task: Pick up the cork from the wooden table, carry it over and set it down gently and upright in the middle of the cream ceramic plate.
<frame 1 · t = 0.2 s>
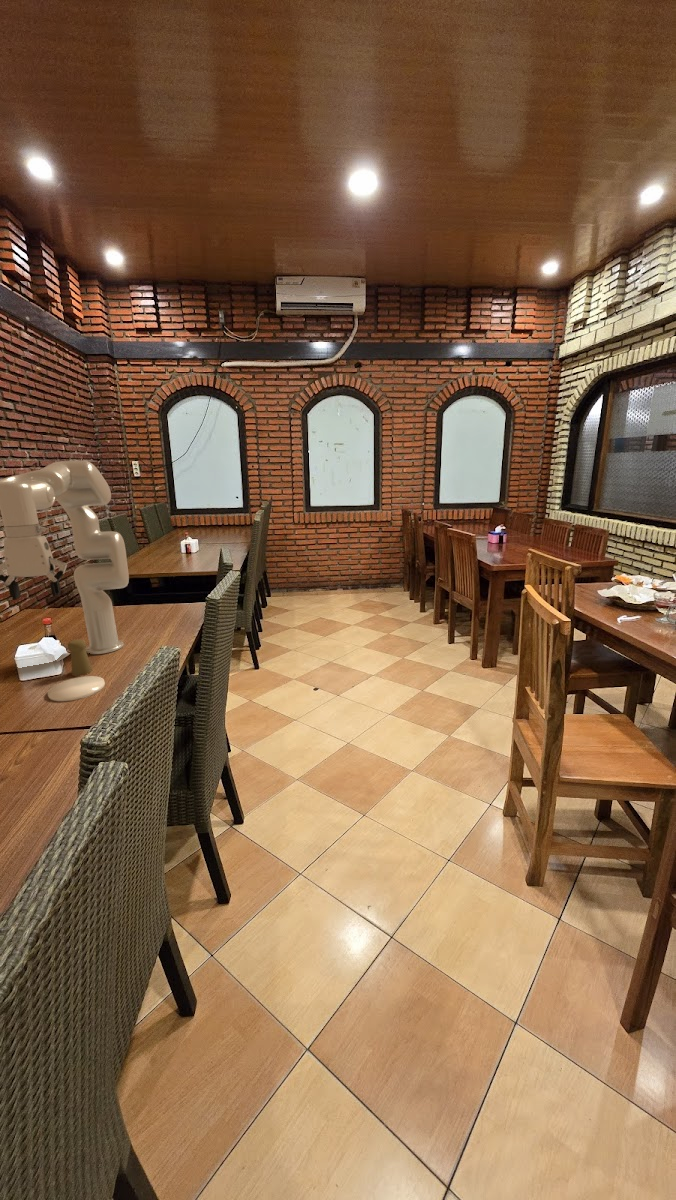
hand: (36, 597, 126), 31 cm above the table, tool pointing down, fingers open, 9 cm apart
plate: (77, 689, 143), on the table
cork: (82, 672, 156), on the table
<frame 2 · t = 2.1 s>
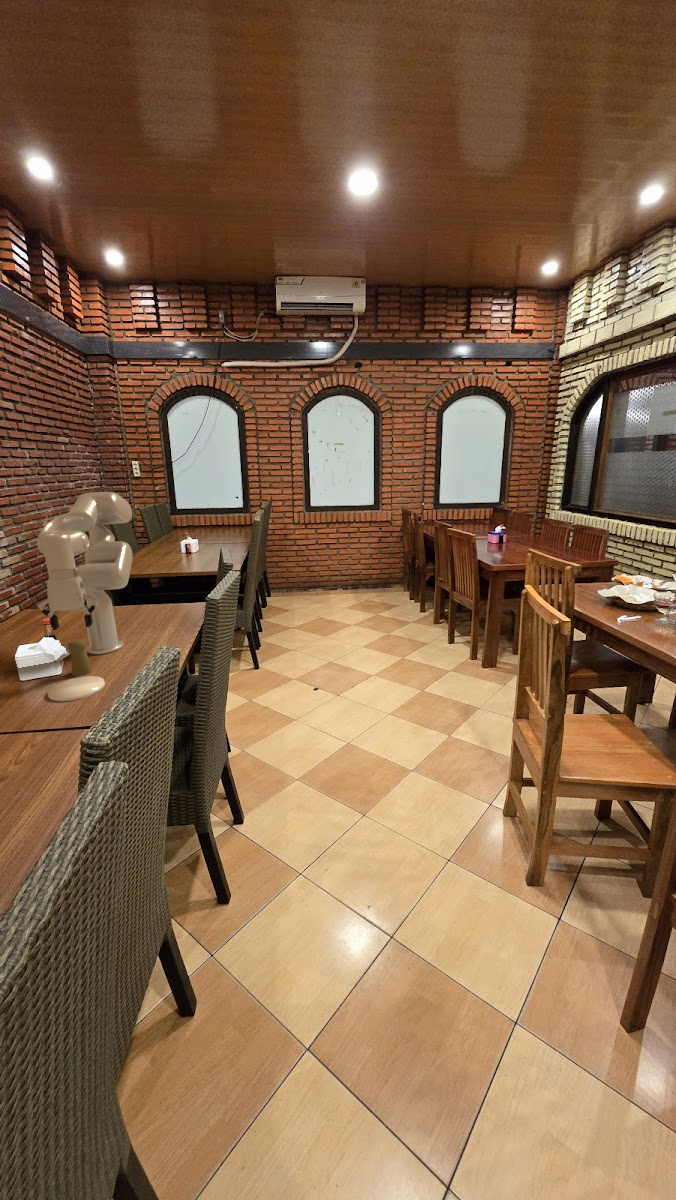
hand: (72, 627, 151), 15 cm above the table, tool pointing down, fingers open, 9 cm apart
nothing on the table moved.
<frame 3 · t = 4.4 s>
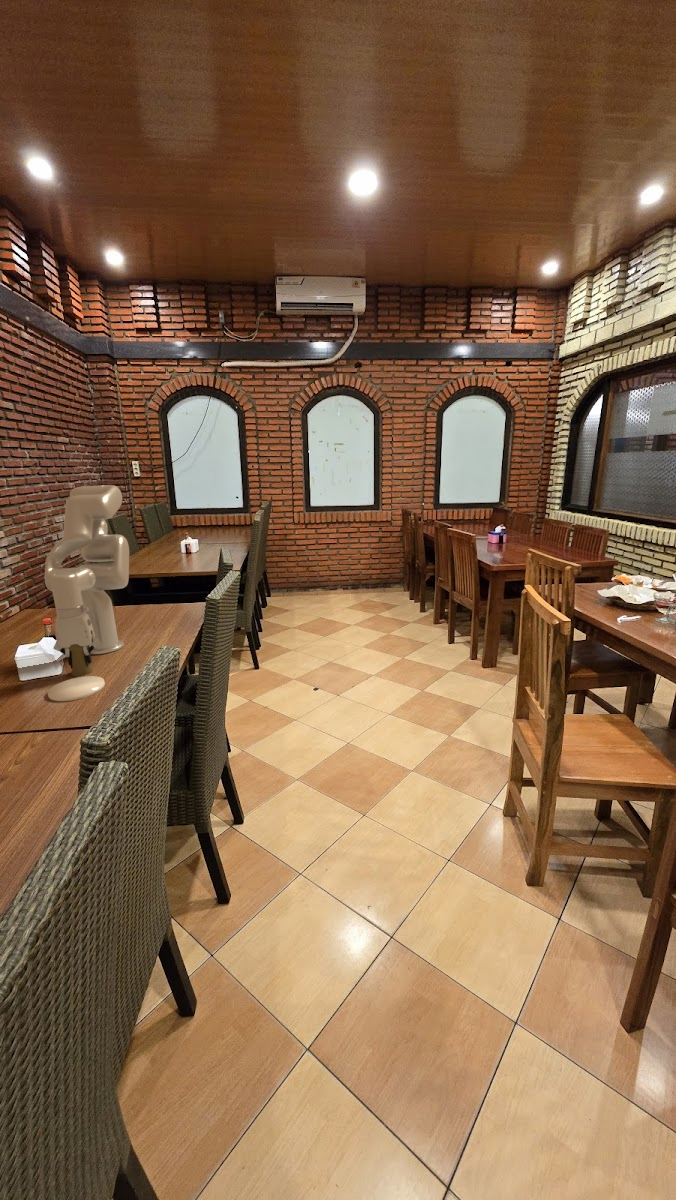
hand: (81, 665, 155), 2 cm above the table, tool pointing down, fingers closed on cork, 3 cm apart
cork: (82, 672, 156), on the table, touching gripper
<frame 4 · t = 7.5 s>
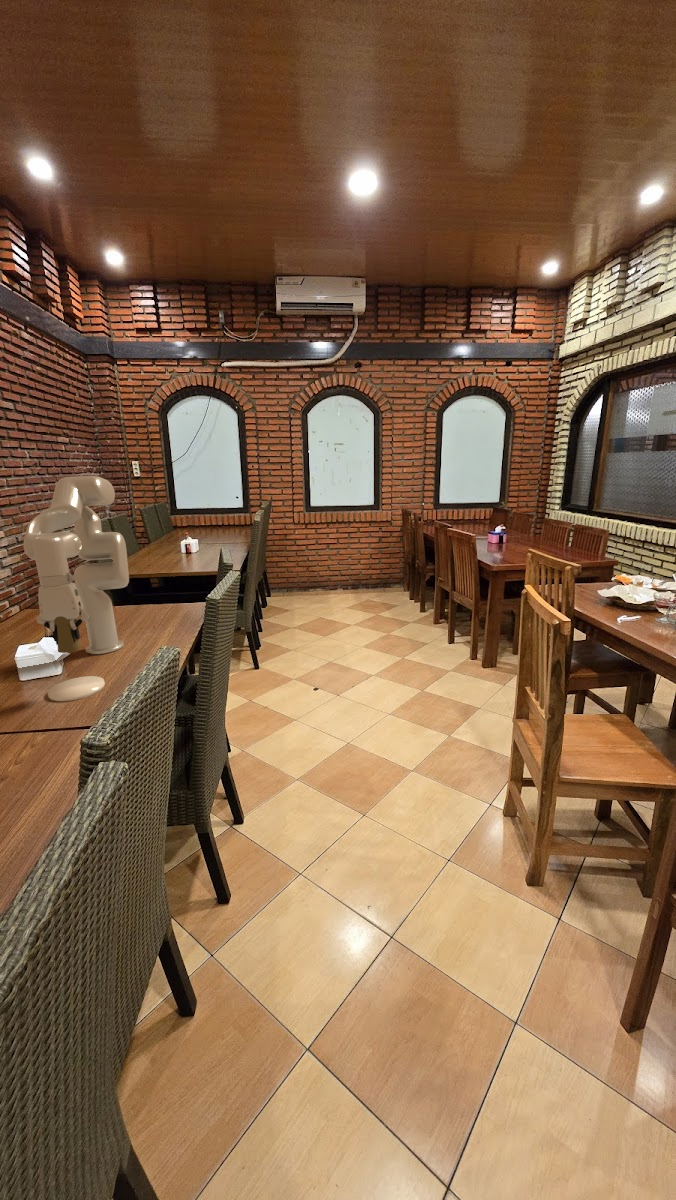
hand: (67, 641, 139), 15 cm above the table, tool pointing down, fingers closed on cork, 3 cm apart
cork: (69, 649, 139), point 13 cm above the table, touching gripper
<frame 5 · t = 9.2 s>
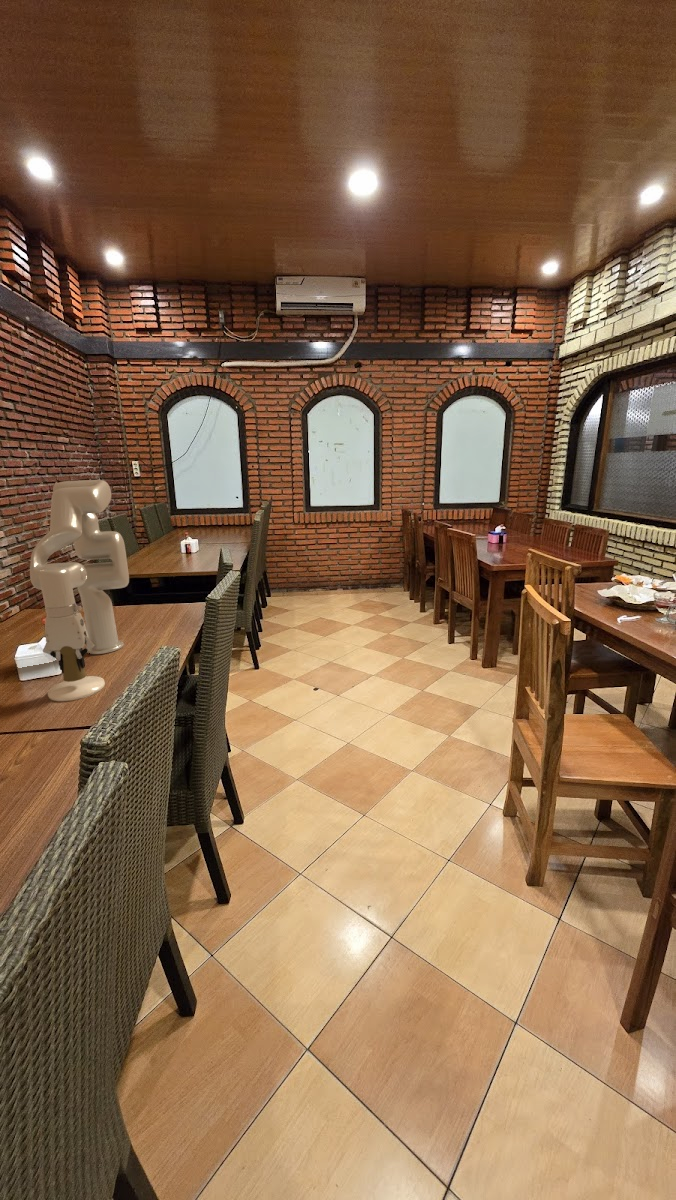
hand: (73, 670, 141), 6 cm above the table, tool pointing down, fingers closed on cork, 3 cm apart
cork: (75, 677, 142), point 4 cm above the table, touching gripper
when the fingers open (4 cm above the table, at t = 10.5 s): cork stays where it is, resting on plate.
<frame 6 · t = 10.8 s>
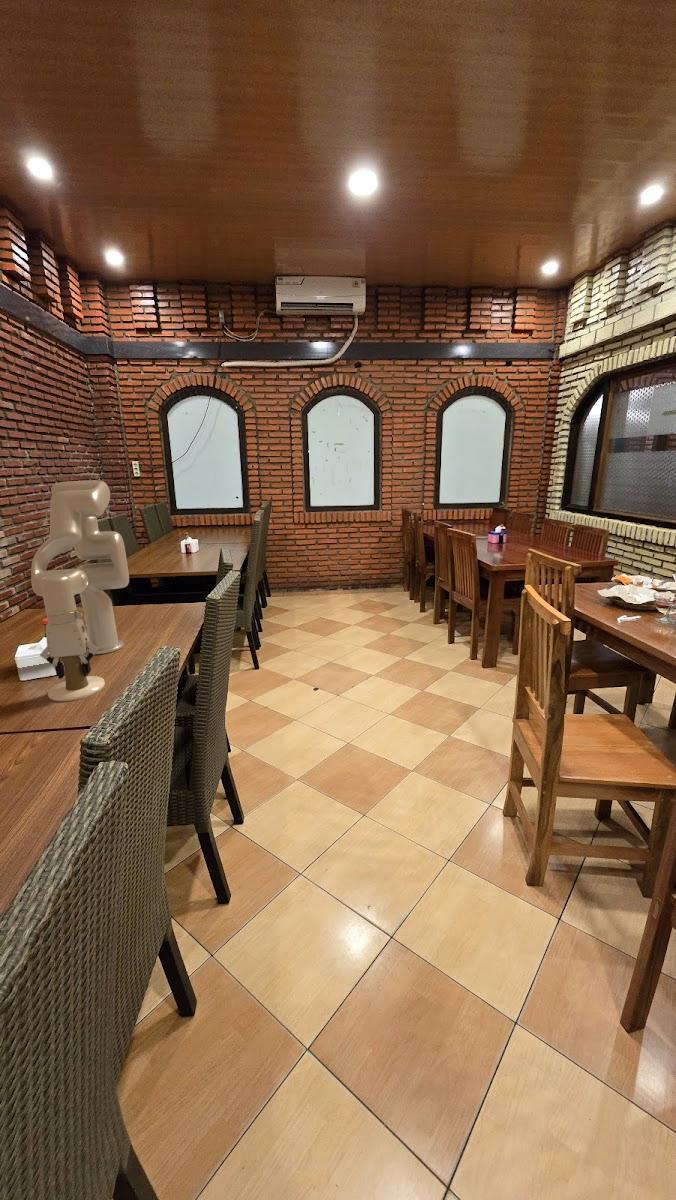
hand: (74, 675, 141), 5 cm above the table, tool pointing down, fingers open, 6 cm apart
cork: (77, 686, 143), point 1 cm above the table, touching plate
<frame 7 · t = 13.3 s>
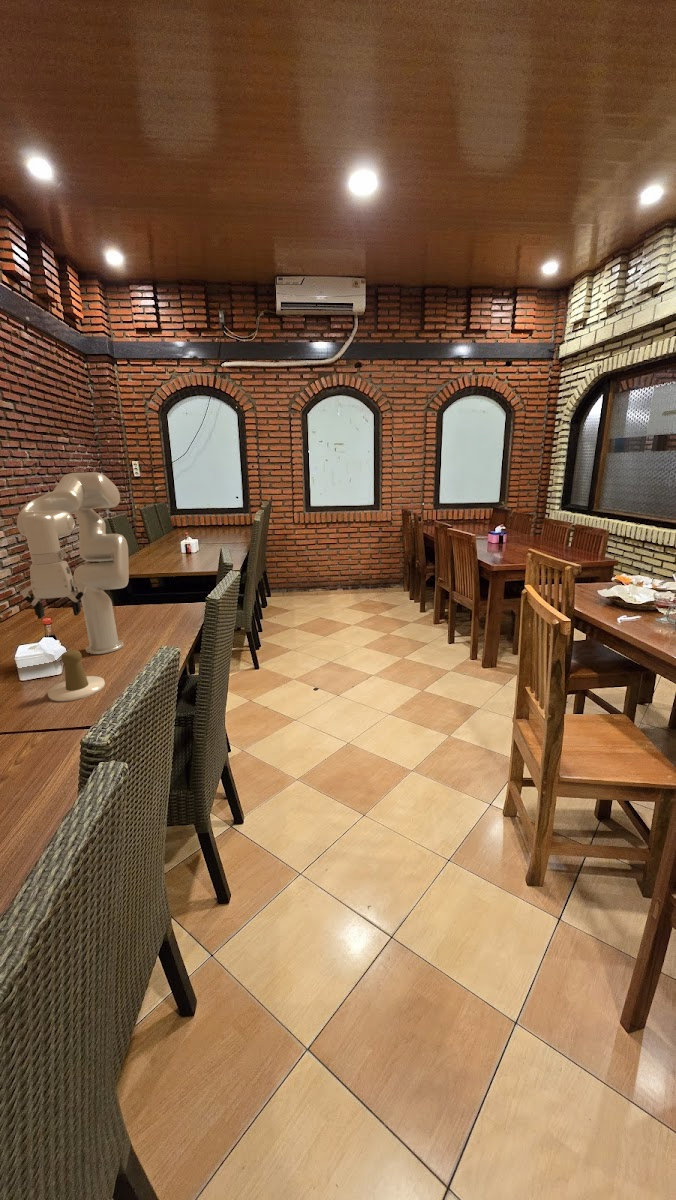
hand: (59, 615, 140), 22 cm above the table, tool pointing down, fingers open, 9 cm apart
nothing on the table moved.
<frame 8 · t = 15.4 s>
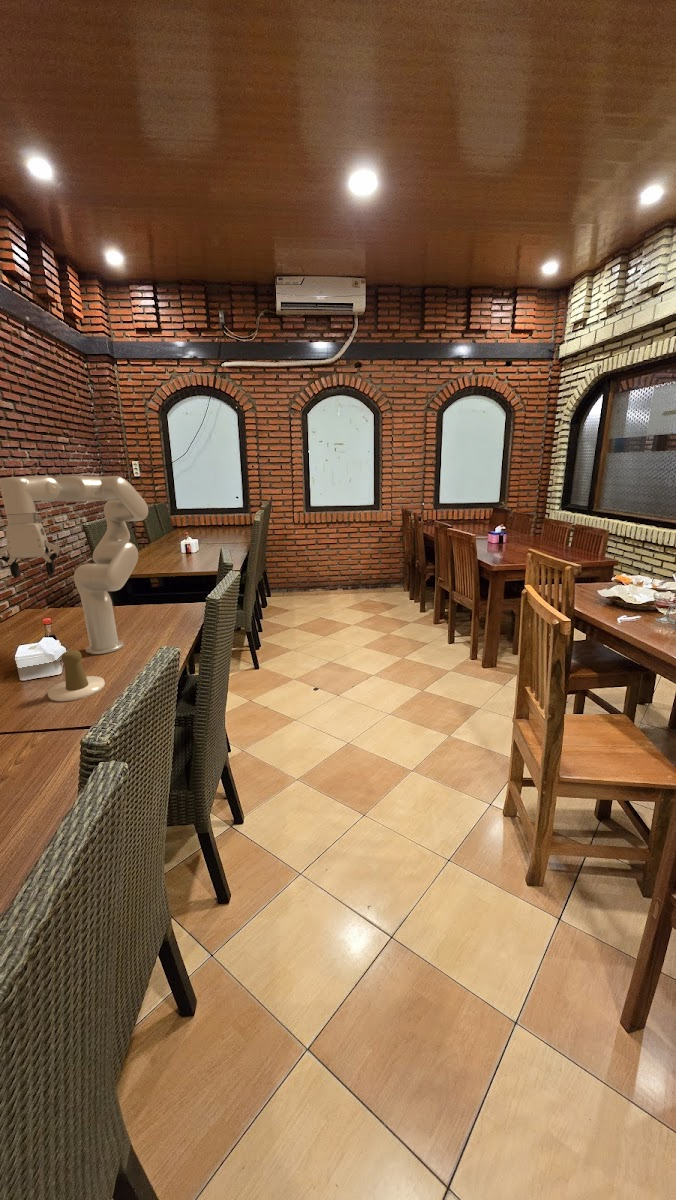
hand: (34, 575, 148), 32 cm above the table, tool pointing down, fingers open, 9 cm apart
nothing on the table moved.
at the end: cork 0.2 cm from the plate (horizontally); cork tilted 0°; cork touching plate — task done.
